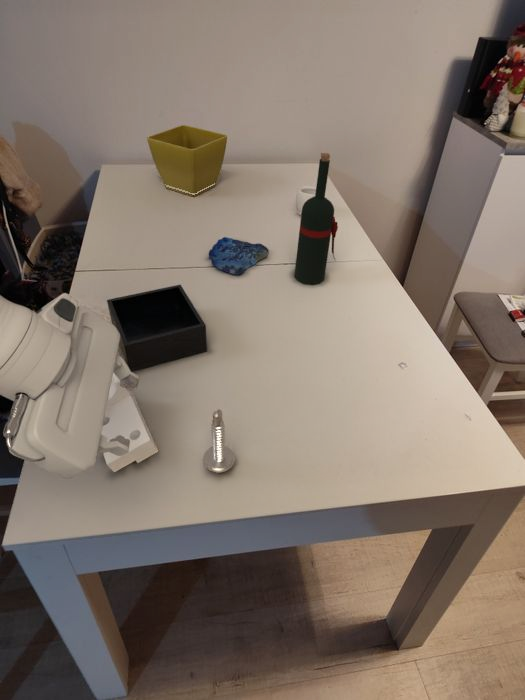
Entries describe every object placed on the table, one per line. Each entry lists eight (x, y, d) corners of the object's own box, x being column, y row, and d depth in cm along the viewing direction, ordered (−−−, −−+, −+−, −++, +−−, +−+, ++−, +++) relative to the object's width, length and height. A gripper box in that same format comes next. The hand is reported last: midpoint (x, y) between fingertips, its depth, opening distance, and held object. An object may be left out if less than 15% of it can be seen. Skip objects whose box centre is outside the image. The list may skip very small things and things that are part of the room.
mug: (324, 219, 140) (328, 194, 135) (299, 221, 138) (301, 196, 133) (312, 203, 149) (315, 180, 144) (287, 205, 147) (290, 181, 142)
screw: (235, 453, 72) (233, 479, 68) (205, 452, 71) (201, 478, 68) (236, 398, 63) (233, 425, 59) (202, 397, 63) (197, 423, 59)
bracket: (96, 417, 77) (75, 391, 71) (134, 397, 79) (116, 370, 73) (116, 475, 69) (94, 451, 63) (158, 451, 70) (140, 426, 65)
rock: (273, 252, 122) (273, 246, 120) (237, 280, 111) (237, 273, 110) (229, 238, 128) (229, 232, 126) (191, 263, 117) (190, 256, 115)
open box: (129, 372, 84) (124, 345, 80) (112, 326, 95) (106, 299, 90) (207, 351, 90) (205, 325, 85) (182, 309, 100) (180, 284, 96)
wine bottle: (336, 284, 111) (359, 160, 92) (296, 285, 110) (310, 160, 91) (329, 268, 117) (349, 148, 98) (291, 268, 116) (303, 148, 96)
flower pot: (195, 203, 145) (192, 149, 134) (151, 189, 152) (145, 137, 141) (228, 185, 157) (228, 135, 146) (186, 173, 164) (183, 124, 153)
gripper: (18, 435, 38) (138, 486, 47) (70, 283, 52) (156, 344, 61) (-23, 459, 41) (99, 503, 50) (37, 308, 54) (124, 363, 63)
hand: (130, 414), depth 55 cm, fingers open, 8 cm apart
